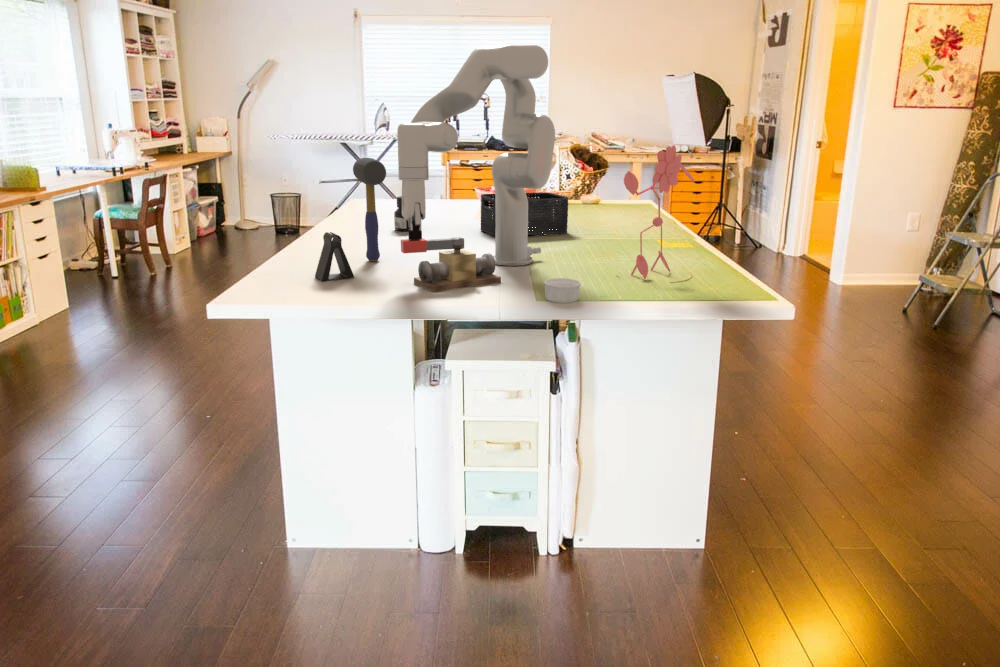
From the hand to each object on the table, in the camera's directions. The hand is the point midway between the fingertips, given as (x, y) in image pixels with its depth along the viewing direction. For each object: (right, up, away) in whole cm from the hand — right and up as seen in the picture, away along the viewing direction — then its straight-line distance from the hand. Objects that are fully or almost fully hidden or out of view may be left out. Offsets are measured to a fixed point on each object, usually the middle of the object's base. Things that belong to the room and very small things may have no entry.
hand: (415, 245), depth 200 cm
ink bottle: (-12, +15, +85) cm, 87 cm away
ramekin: (+37, -15, -12) cm, 42 cm away
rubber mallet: (-16, -1, +30) cm, 34 cm away
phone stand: (-23, -8, +9) cm, 26 cm away
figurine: (+66, -7, +11) cm, 67 cm away
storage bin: (+31, +14, +81) cm, 88 cm away
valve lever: (+5, -1, -1) cm, 5 cm away
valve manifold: (+11, -9, +3) cm, 15 cm away
